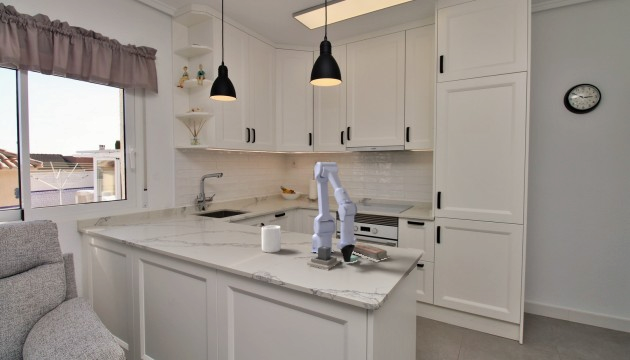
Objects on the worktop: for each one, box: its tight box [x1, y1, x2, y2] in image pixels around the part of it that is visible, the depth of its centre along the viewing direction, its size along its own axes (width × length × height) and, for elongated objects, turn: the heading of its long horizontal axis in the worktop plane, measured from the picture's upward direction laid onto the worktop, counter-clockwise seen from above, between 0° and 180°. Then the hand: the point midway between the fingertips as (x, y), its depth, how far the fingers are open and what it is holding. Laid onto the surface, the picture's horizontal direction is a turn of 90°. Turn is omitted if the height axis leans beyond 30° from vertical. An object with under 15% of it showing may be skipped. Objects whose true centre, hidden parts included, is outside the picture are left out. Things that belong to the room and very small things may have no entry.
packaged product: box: [353, 242, 390, 260], centre depth 144 cm, size 18×5×10 cm
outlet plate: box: [306, 255, 342, 270], centre depth 132 cm, size 10×12×3 cm
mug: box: [261, 224, 282, 254], centre depth 152 cm, size 10×12×12 cm
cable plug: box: [350, 254, 359, 262], centre depth 135 cm, size 4×6×2 cm, turn 134°
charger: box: [317, 246, 332, 261], centre depth 131 cm, size 4×4×6 cm
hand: (346, 261), depth 132 cm, fingers closed
